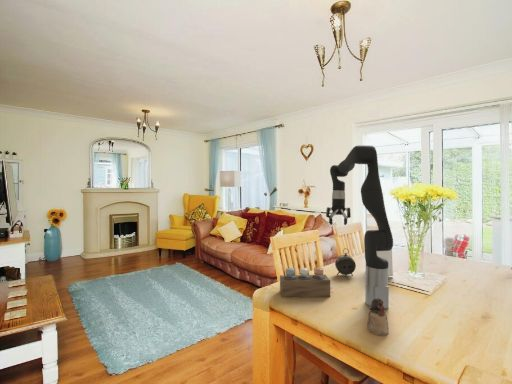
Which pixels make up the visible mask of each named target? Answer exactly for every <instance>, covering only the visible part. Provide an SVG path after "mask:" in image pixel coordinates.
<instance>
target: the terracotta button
mask: <svg viewBox="0 0 512 384" xmlns="http://www.w3.org/2000/svg"><path fill="white" fill-rule="evenodd" d="M313 269H314V270H313V275H324V268H322V267H314V268H313Z"/></svg>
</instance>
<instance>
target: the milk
mask: <svg viewBox="0 0 512 384" xmlns="http://www.w3.org/2000/svg"><path fill="white" fill-rule="evenodd" d="M377 256H378V257H381V258H384V259H386V260H387V261H388V276H393V277H394V269H393V267H394V266H393V248H392V249H391V250H390V251H377Z"/></svg>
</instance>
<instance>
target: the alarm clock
mask: <svg viewBox="0 0 512 384" xmlns="http://www.w3.org/2000/svg"><path fill="white" fill-rule="evenodd" d="M344 250H347V252H344ZM342 253H343V254H342V255H341V254H340V255H339V256H338V257H336V260H335V262H334V263H335V264H334V265H335V268H336V269H337V271H338V272H337V273H336V275H337V276H338V275H339V274H341V275H344V276H345V278H347V277H348V275H351V276H354V274H353V273H354V271H355V269H356V266H357V265H356V261H355V260H354V259H353V257H352V256H350V255H348V254H349V253H350V251H349V249H348V248H346V247H345V248H344V249H343V250H342Z"/></svg>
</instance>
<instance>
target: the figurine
mask: <svg viewBox="0 0 512 384" xmlns="http://www.w3.org/2000/svg"><path fill="white" fill-rule="evenodd" d="M368 309H369V312H368V317H367V323H366V329H367V330H368V332H369V333H371V334H373V335H375V336H382V335H383V336H387V335H388V334H389V322H388V315H387V312H386V311H385V309H384V306H383V301H382V300H381V299H380V298H376V299H374V300H372V304H371V307H369V308H368Z"/></svg>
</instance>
